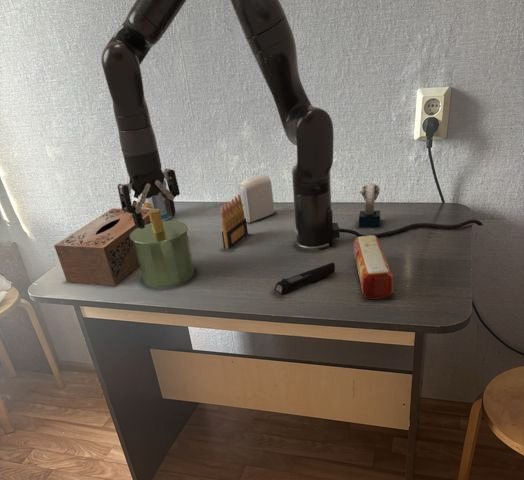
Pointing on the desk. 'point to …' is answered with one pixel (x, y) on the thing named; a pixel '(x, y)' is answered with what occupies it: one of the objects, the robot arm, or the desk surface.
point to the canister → (165, 262)
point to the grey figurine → (369, 207)
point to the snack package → (372, 268)
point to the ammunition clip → (233, 222)
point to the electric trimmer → (304, 278)
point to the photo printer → (256, 197)
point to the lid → (158, 230)
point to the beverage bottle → (157, 204)
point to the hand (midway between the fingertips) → (156, 221)
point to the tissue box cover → (101, 249)
